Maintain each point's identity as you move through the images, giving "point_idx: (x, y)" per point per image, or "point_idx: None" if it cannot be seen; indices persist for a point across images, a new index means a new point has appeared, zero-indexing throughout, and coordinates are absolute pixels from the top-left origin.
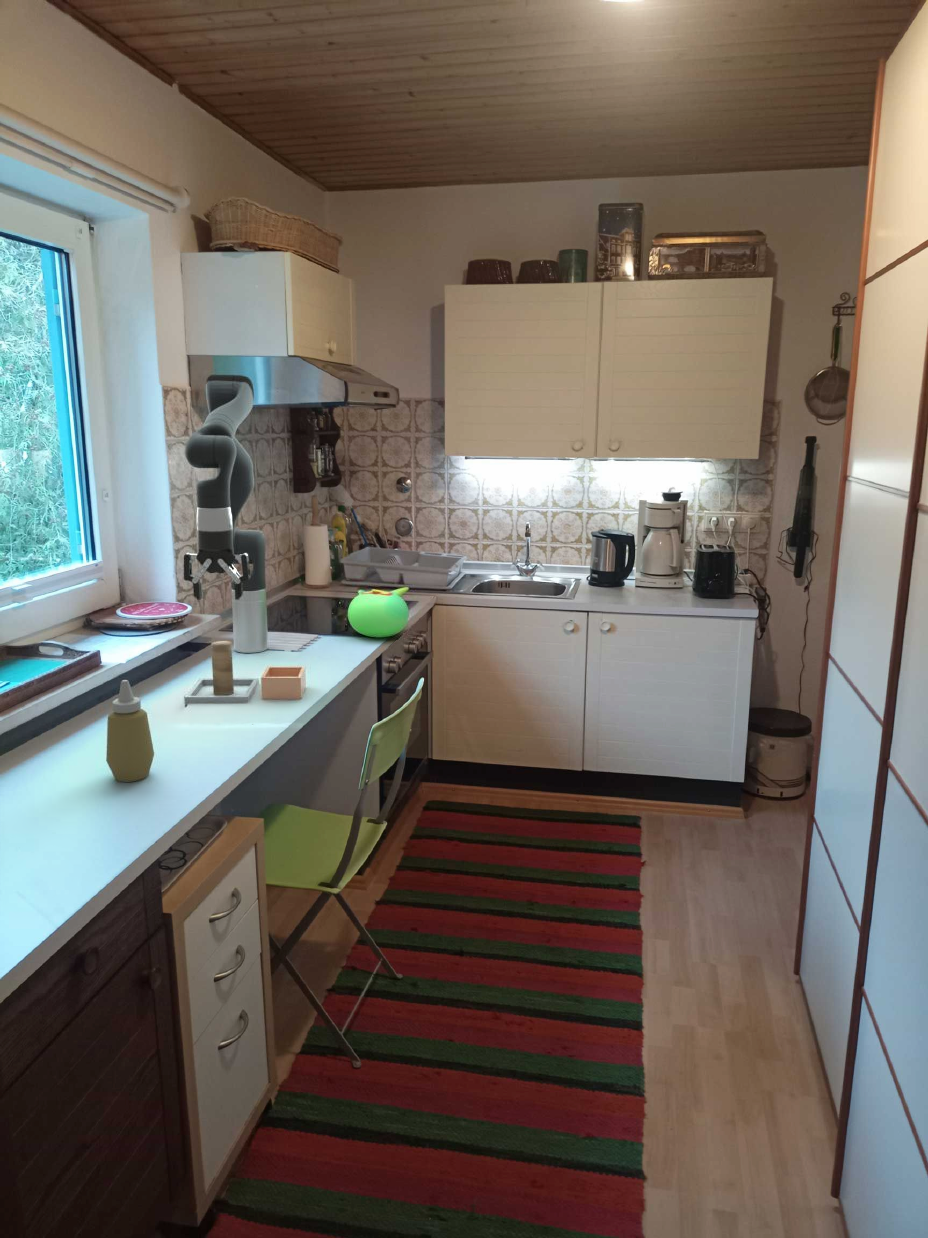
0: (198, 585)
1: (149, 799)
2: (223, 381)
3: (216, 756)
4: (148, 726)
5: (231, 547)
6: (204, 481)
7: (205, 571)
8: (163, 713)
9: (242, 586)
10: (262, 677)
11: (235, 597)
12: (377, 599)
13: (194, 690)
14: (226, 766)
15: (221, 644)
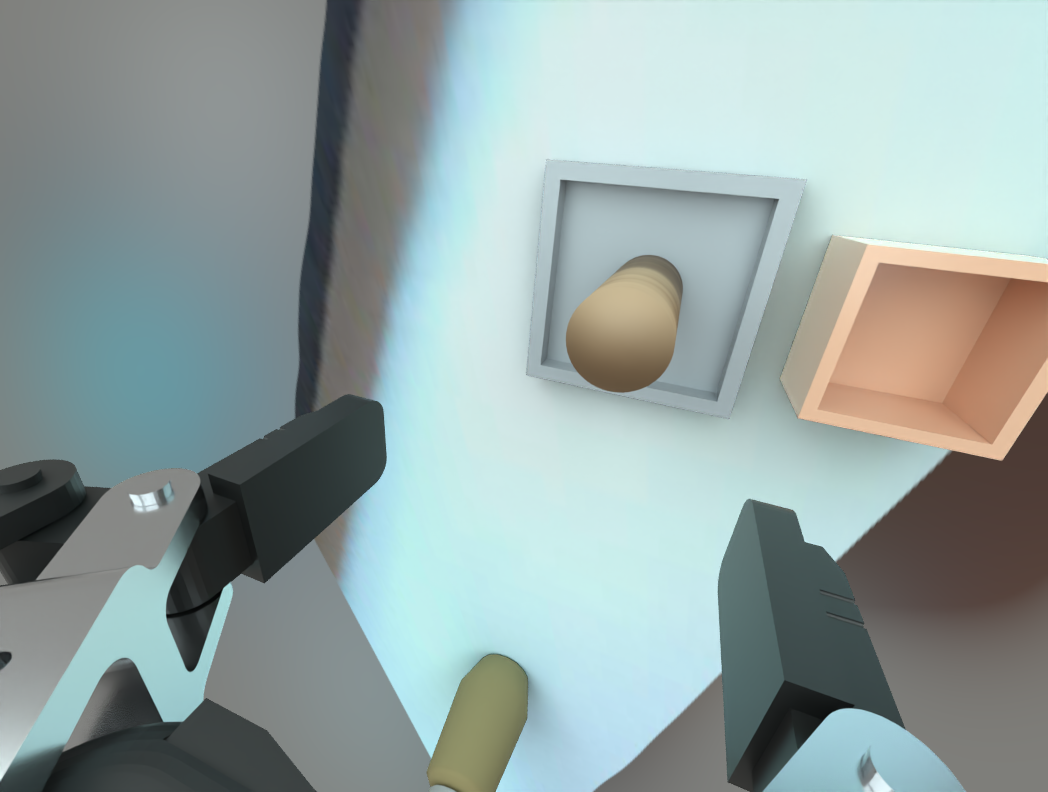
0: (275, 566)
1: (544, 740)
2: None
3: (634, 663)
4: (501, 772)
5: None
6: None
7: (120, 662)
8: (491, 401)
9: (882, 676)
10: (805, 416)
11: (721, 601)
12: None
13: (546, 309)
14: (653, 705)
15: (619, 363)
